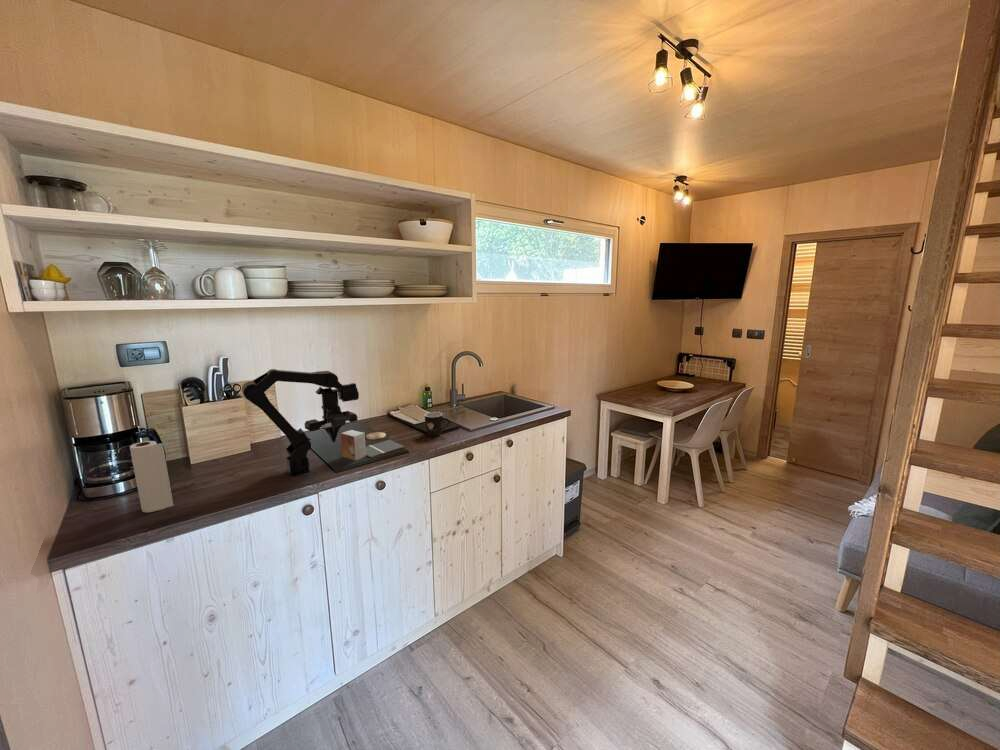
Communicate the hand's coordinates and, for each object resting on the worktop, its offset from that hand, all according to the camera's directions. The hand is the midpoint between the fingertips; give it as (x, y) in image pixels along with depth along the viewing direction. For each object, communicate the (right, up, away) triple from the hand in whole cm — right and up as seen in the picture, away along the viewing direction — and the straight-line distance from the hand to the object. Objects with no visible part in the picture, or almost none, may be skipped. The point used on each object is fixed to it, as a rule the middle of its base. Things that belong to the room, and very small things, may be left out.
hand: (333, 441), depth 158 cm
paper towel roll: (-42, -16, -32) cm, 56 cm away
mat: (+14, -6, +16) cm, 22 cm away
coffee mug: (+35, -3, +33) cm, 48 cm away
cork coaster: (+7, -3, +31) cm, 32 cm away
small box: (+6, -8, +8) cm, 12 cm away
